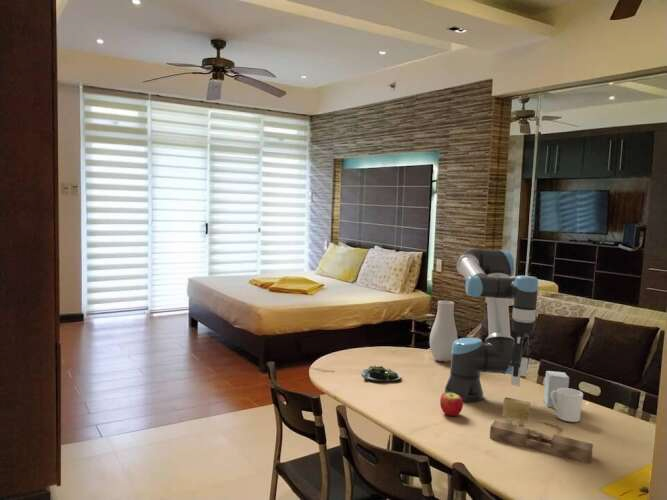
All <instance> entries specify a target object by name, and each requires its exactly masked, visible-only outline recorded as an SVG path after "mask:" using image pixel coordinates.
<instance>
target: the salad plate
mask: <svg viewBox="0 0 667 500" xmlns="http://www.w3.org/2000/svg"><path fill="white" fill-rule="evenodd" d="M360 372H361V375H363V379H365V380H367V381H369V382H371V383H377V384H390V383H389V382H394V383H397V381H398V382H400V381H401V380H402V375H401V374H399V373H398V372H397V371H395V370H394V369H392V368H386V367H384V366H381V365H380V366H379V365H378V366H377V365H373V366H372V365H370V366H368V368H366V369H365V368H364V369H362V370H360ZM385 372H388V373H385Z"/></svg>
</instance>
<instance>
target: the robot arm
mask: <svg viewBox="0 0 667 500" xmlns="http://www.w3.org/2000/svg"><path fill="white" fill-rule="evenodd" d="M455 268H456V270H457V272H458V274H459V275H461V276H463V277H464V279H465V284H464V285H465V287H464V289H465V294H466V295H467V296H469V297H474V298H486V305H487V308H486V309H487V327H488V336H487V337H486V338H485V339H484V341H485V342H483V340H482V339H481V338H478V337H461V338H458V339H457V340H455V341H454V342H453V345H452V351H451V353H452V357H451V360H450V373H449V374H450V375H449V377H448V380H447V382H446V384H445V387H444V393H451V392H452V393H455V394H457V395H459V396H460V397H461V398H462V400H463V403H464V402H465V403H476V402H477V403H478V402H480V401H482V400H483V398H484V391H483V388H482V383H481V380H480V377H481V373H491V374H503V375H511V378H510V386H516V387H520V386H521V385H520V384H521V383H520V382H521V376H522V377H527V376H528V366H529V365H528V363H529V359H531V354H530V353H531V352H530V334H534V333H535V330H536V329H535V328H536V322H535V320H536V316H538V312H537V303H538V292H539V291H538V290H539V280H538V278H537V277H536V276H532V275H531V276H530V275H516V276H515V277H513V276H514V274H515V262H514V258H513V255H512V253H511V252H510V251H508V250H506V249H505V250H503V249H488V248H487V249H486V248H470V249H467V250H465V251H463V252H460V254H459V255H458V256H457V257H456V260H455ZM510 299H512V300H513V306H512V313H511V314H512V315H511V316H512V321H511V323H510V312H509V311H510V308H509V300H510ZM510 324H511V325H510ZM511 330H512V332H514V333H515V332H516V333H517V335H516V336H515V337H513V336H511ZM448 387H449V388H450V389H449V388H448ZM450 390H451V391H450Z"/></svg>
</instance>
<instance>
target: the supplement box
mask: <svg viewBox="0 0 667 500" xmlns="http://www.w3.org/2000/svg"><path fill="white" fill-rule="evenodd" d="M569 385H570V376H569V375H567V373H566V372H562V371H552V370H546V371H545V380H544V393H543V402H544V403H545V406H546V407H548V408H553V409H555V408H554V405H553V402H552V399H551V392H552V391H557V389H558V388H569ZM553 397H554V401H555V404H556V406H557V392H555V393H553Z"/></svg>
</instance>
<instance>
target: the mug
mask: <svg viewBox="0 0 667 500" xmlns="http://www.w3.org/2000/svg"><path fill="white" fill-rule="evenodd" d="M555 392H557V406H556V404H555V401H554V397H553V393H555ZM583 398H584V393H583V392H582V391H580V390H577V389H574V388H569V387H568V388H558V389H557V391H552V392H551V399H552V402H553V405H554V408H553V409H554V410H555V411H556V412H555V417H556V419H558V420H559V421H561V422H564V423H568V424H577V423H580V420H581V413H582V405H583V404H582V403H583Z"/></svg>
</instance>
